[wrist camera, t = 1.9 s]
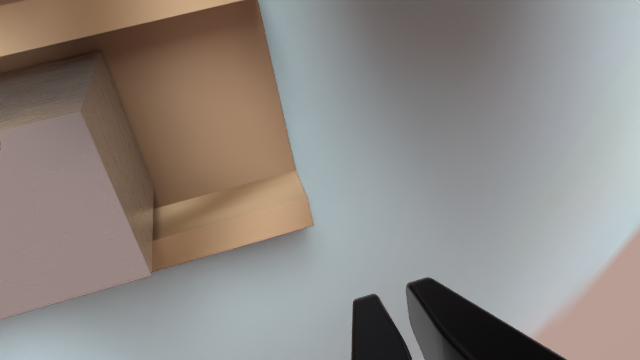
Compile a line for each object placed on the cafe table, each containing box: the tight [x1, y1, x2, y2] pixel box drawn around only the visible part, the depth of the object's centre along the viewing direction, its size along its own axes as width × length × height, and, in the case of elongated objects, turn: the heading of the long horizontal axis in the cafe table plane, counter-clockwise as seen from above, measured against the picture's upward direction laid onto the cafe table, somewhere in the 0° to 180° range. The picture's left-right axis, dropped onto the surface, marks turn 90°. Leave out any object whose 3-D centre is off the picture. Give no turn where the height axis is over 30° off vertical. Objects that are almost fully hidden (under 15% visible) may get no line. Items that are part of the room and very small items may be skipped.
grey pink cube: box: [0, 50, 154, 319], centre depth 16 cm, size 5×5×5 cm
